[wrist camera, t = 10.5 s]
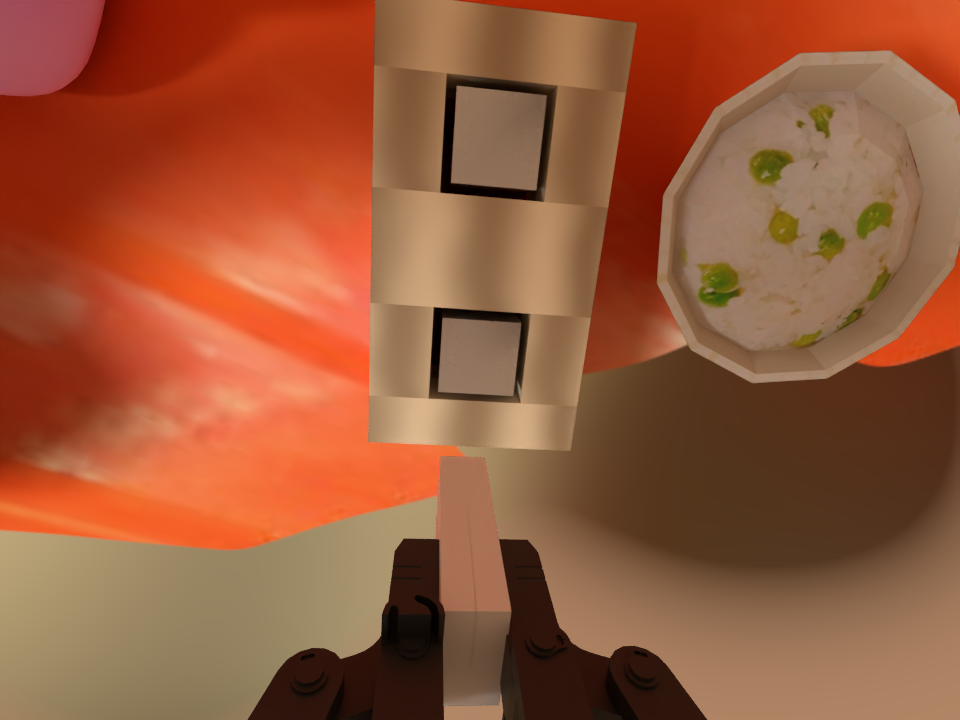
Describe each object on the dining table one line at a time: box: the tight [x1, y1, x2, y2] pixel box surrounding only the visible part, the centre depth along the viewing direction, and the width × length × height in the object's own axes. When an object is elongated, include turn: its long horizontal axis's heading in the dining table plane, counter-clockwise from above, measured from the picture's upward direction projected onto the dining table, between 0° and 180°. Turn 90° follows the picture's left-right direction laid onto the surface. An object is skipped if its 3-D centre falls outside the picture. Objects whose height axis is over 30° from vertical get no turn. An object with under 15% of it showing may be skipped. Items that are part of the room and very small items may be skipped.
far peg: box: [438, 308, 521, 396], centre depth 35 cm, size 5×5×6 cm
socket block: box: [368, 0, 637, 451], centre depth 33 cm, size 14×26×7 cm, turn 175°
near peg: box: [450, 86, 547, 192], centre depth 31 cm, size 5×5×6 cm
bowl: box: [657, 50, 960, 383], centre depth 33 cm, size 19×19×10 cm
